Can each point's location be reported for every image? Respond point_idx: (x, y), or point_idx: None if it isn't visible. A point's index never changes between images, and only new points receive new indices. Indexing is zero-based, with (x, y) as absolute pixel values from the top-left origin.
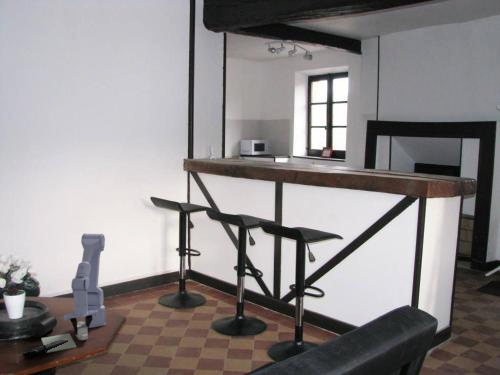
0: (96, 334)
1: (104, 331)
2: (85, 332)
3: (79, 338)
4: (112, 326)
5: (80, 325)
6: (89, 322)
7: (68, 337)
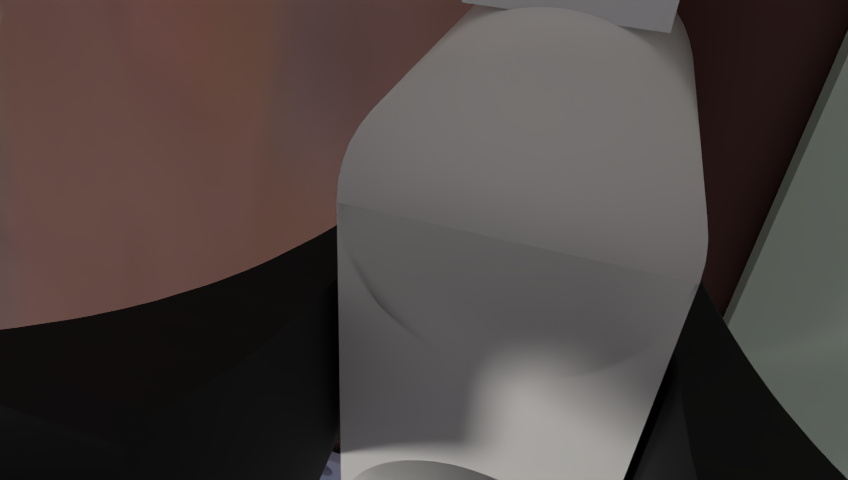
0: (252, 181)
1: (121, 210)
2: (493, 16)
3: (690, 48)
4: (20, 293)
5: (503, 428)
6: (186, 319)
7: (783, 360)
